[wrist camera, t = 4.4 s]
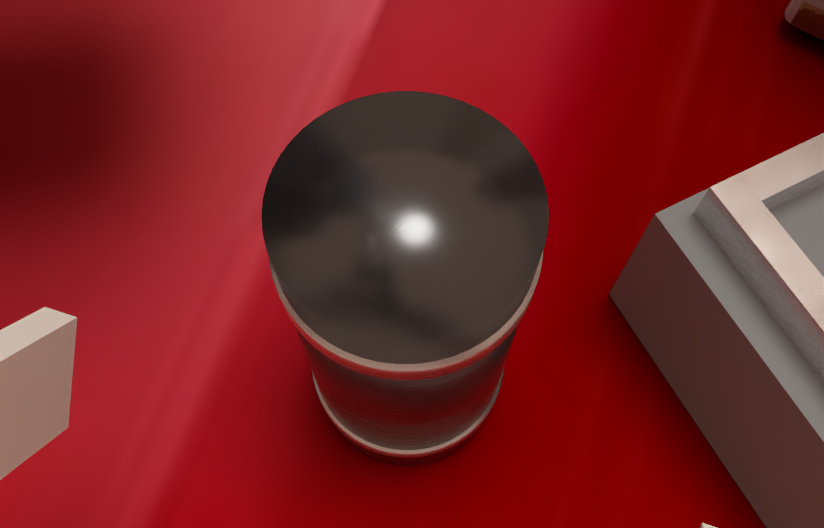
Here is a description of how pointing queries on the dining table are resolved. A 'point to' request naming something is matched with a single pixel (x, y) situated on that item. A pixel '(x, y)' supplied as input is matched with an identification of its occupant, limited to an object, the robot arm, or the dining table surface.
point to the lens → (406, 264)
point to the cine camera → (807, 16)
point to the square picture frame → (773, 242)
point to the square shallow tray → (733, 357)
